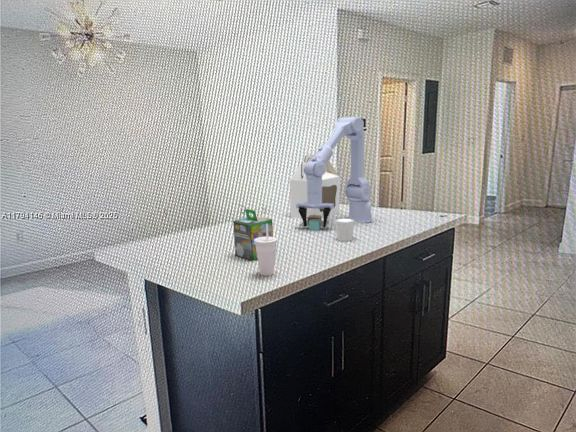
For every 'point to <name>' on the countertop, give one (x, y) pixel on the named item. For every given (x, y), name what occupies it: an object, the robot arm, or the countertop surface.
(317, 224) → the teal cube
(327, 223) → the build mat
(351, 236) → the white cylinder
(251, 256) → the green carry carton
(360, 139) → the robot arm
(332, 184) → the gable box
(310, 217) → the walnut block
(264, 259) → the smoothie
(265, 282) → the countertop surface
